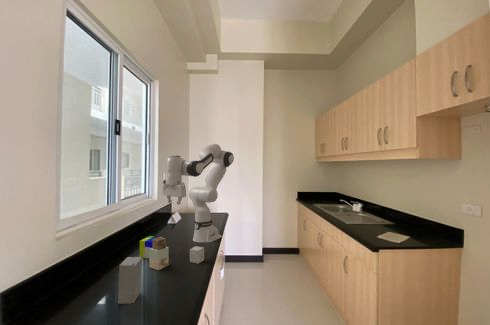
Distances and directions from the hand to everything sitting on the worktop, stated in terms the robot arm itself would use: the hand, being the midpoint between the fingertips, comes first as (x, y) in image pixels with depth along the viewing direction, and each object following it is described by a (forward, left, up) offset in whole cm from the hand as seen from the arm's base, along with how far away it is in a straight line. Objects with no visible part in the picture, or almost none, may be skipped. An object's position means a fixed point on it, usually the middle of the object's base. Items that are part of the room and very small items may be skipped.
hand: (174, 203), depth 150 cm
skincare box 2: (-2, +20, -31) cm, 37 cm away
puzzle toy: (+10, -8, -31) cm, 34 cm away
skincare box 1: (+41, +30, -31) cm, 60 cm away
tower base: (+16, +10, -31) cm, 36 cm away
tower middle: (+16, +10, -26) cm, 32 cm away
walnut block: (+16, +10, -21) cm, 28 cm away
